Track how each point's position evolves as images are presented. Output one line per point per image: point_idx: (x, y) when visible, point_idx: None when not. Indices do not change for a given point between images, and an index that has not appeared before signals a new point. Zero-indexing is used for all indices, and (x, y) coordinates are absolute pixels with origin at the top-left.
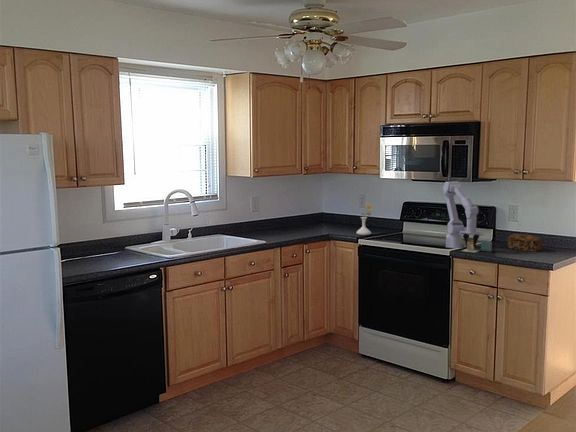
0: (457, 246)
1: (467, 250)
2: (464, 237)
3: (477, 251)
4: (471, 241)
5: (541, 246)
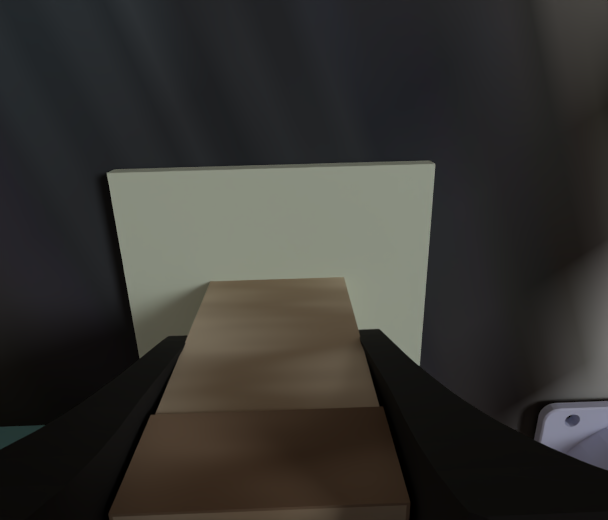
0: (602, 457)
1: (331, 279)
2: (537, 465)
3: (131, 307)
4: (221, 417)
5: None
